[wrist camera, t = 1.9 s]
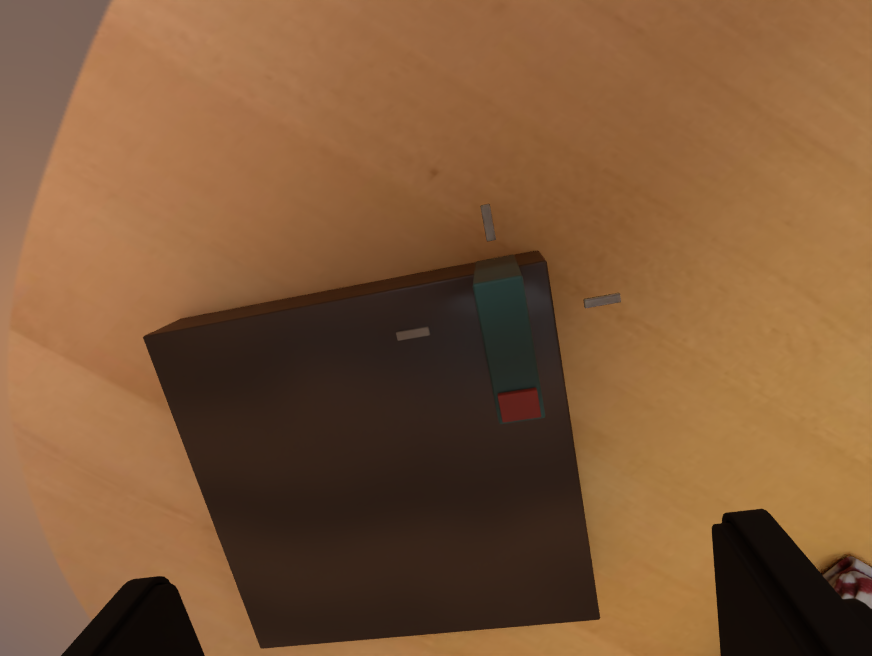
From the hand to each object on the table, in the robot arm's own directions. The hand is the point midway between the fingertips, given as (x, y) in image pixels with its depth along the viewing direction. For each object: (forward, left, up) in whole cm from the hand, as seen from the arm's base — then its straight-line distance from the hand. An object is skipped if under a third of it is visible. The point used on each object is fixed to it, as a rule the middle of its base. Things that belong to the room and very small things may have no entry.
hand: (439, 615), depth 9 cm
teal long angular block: (-1, +2, -13) cm, 14 cm away
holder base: (+4, -4, -16) cm, 17 cm away
